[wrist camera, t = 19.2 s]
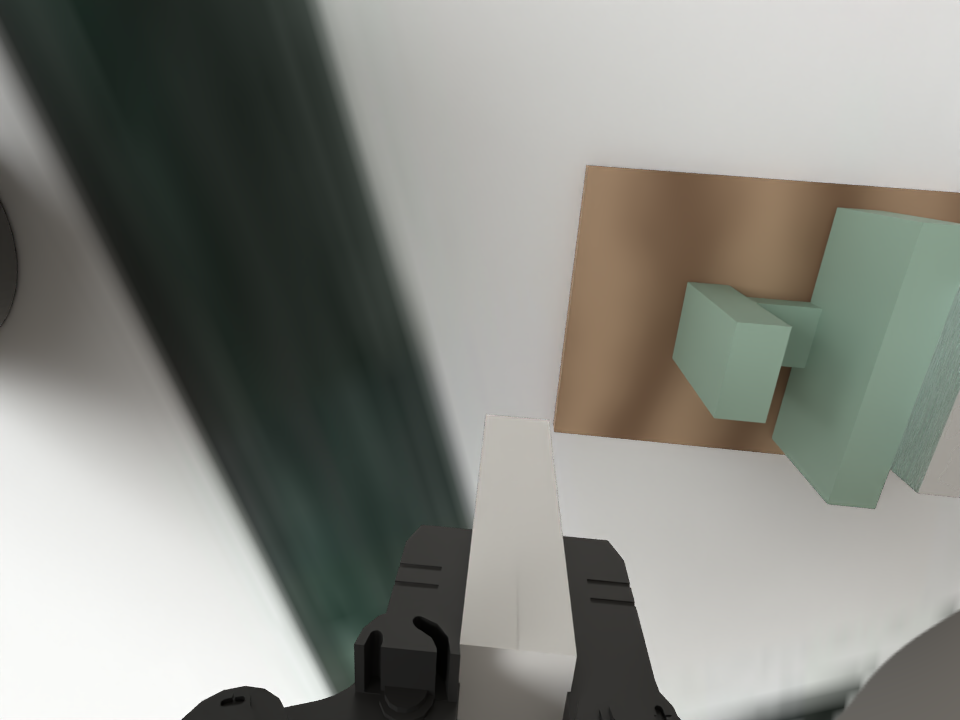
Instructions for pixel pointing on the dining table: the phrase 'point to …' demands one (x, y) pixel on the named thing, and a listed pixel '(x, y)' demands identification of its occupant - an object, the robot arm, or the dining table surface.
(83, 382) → the dining table surface
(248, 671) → the dining table surface
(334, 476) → the dining table surface
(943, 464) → the steel block
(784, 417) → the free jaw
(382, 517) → the dining table surface
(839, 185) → the vise body
